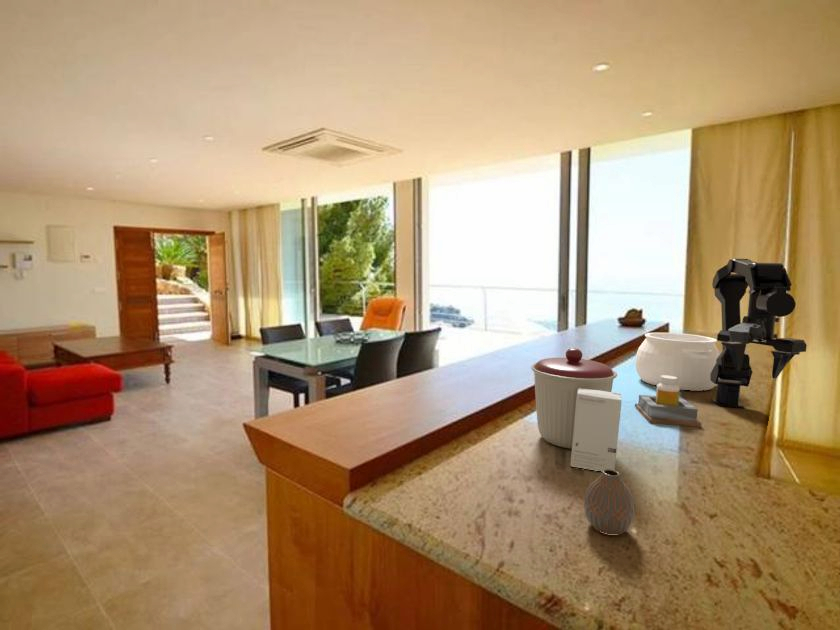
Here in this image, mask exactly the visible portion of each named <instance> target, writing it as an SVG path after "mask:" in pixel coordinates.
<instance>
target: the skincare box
mask: <svg viewBox="0 0 840 630" xmlns="http://www.w3.org/2000/svg"><path fill="white" fill-rule="evenodd" d="M621 410H622V394H621V393H619V392H612V391H611V392H606V391H601V390H592V389H584V388H578V392H577V400H576V409H575V421H574V432H573V442H572V449H571V454H570V463H569V464H570V467H571V466H572V467H578V468H585V469H591V470H597V471H603V470H605V469H611V470H615V468H616V459H617V451H618V450H617V449H618V439H619V433H620V432H619V431H620V429H619V428H620V422H621V421H620V420H621ZM578 468H577V469H578ZM615 471H616V470H615Z"/></svg>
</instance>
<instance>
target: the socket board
mask: <svg viewBox="0 0 840 630" xmlns="http://www.w3.org/2000/svg"><path fill="white" fill-rule="evenodd" d="M635 407H636V408H635ZM634 408H635V409H636V410H637V411H638V412H639V414H641V415H642V416H643V417H644V419H645V420H646V421H647V422H648V423H649V424H656V425H657V424H660V425H674V426H685V427H686V426H687V427H698V428H701V427H702V422H701V421H699V420H698V408H697V407H695V406H694V405H693V404H692V403H690V402H688V401H687V400H685V399H684V398H683V397H680V396H679V403H678V406H672V405H658V404H656V395H651V394H650V395H649V394H648V395H647V394H638V403H634Z"/></svg>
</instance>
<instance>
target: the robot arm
mask: <svg viewBox="0 0 840 630" xmlns="http://www.w3.org/2000/svg"><path fill="white" fill-rule="evenodd" d="M787 272H788V271H787V269H786V268H785V265H784V264H783V263H781V262H780V263H779V262H756V261H753V260H751V259H749V258H732V259H731V258H730V259H729V260H728V262H727V263H726V265H724V266H722V267H721V268H719V269H717V271H716V273H715V274H714V276H713V278H712V281H711V282H712V283H711V284H712V289H714V296H715V298H717V300H718V301H719V303H720V305H721V306H720V307H721V309H720V310H721V330H719V331H718V333H717V334H716V336H717V337H716V340H717V342H720V343H721V346H722V351H721V352H720V355H719V356H718V358H717V359H716V364H715V366H714V368H713V370H712V372H711V374H710V379H711V381H712V382H713V383H714V384H717V385H716V395H715V398H710V401H711V402H713V404H716V405H718V406H719V407H728V408H729V407H731V408H745V405H743V404H742V403H740V395H741V387H746V388H747V387H749V385H750V383H751V378H752V374H753V369H752V367H751V364H750V356H749V354H747V353H745V352H746V347H747V345H748V344H754V345H755V344H756V345H762V346H763V345H764V346H769V347H773V349H774V350H771V354H772V356H773V364H772V371H771V375H772V376H771V377H772V379H778V377H779V376H780V374H781V372H782V371H783V370H784V369H785V367H786V365H787V364H788V363H789V362H790V361H791V360H792V359H793V357H795V355H797V356H798V355H800V354H801V353H806V352H807V346H808V344H807V343H806V341H805V340H804V339H799V338H791V337H780V338H778V333H775V325H776V323H779V321H780V318H782V317H786V316H789V315H791V314H792V313H793V312H794V310H795V308H796V301H795V298H794V297H793V296H792V295H791V294H789V293H788V292H790V291H791V290H792V289H791V286H792V282H791V279H790V277H789V275H788V273H787ZM747 288H749V290H748V294H749V297H748V306H747V315H746V316H745V315H744V316H743V318H742V321H741V300H742V299H743V297H744V296H745V295H746V294H747Z"/></svg>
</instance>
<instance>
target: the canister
mask: <svg viewBox="0 0 840 630" xmlns="http://www.w3.org/2000/svg"><path fill="white" fill-rule="evenodd" d="M530 367H531V370H532V372H533V376H534V377H533V379H534V394H535V395H534V396H535V409H536V410H535V411H536V420H537V429H538V432H539V434H540V437H541V438H542V439H543V440H544V441H546V442H547V443H550V444H551V445H554V446H557V447H561V448H565V449H571V450H572V442H573V432H574V421H575V409H576V400H577V392H578V388H584V389H592V390H601V391H606V392H612V390H613V385H614V384H613V383H614V379H616V378H617V377H618V372H617V371H616V370H614V369H612V368H611V366H609V365H607V364H604V363H602V362H598V361H596V360H591V359H585V358H584V359H583V352H582V351H581V350H580V349H578V348H576V347H575V348H569V349H567V350H566V352H565V357H550V358H549V357H548V358H544V359H541V360H538V361H537V362H535V363H533V364H532V365H531V366H530Z"/></svg>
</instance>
